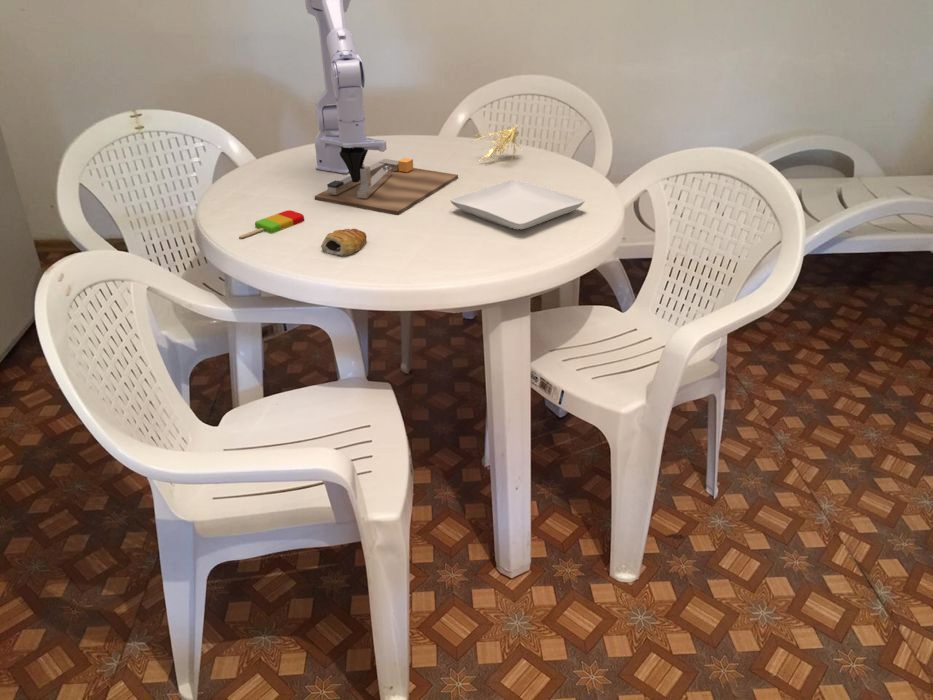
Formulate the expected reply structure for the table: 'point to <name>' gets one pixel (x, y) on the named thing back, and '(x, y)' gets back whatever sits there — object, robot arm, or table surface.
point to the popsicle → (277, 222)
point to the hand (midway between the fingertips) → (356, 181)
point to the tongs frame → (347, 183)
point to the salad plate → (517, 203)
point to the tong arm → (372, 180)
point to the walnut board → (394, 191)
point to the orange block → (405, 164)
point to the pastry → (344, 242)
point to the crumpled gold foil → (502, 141)
